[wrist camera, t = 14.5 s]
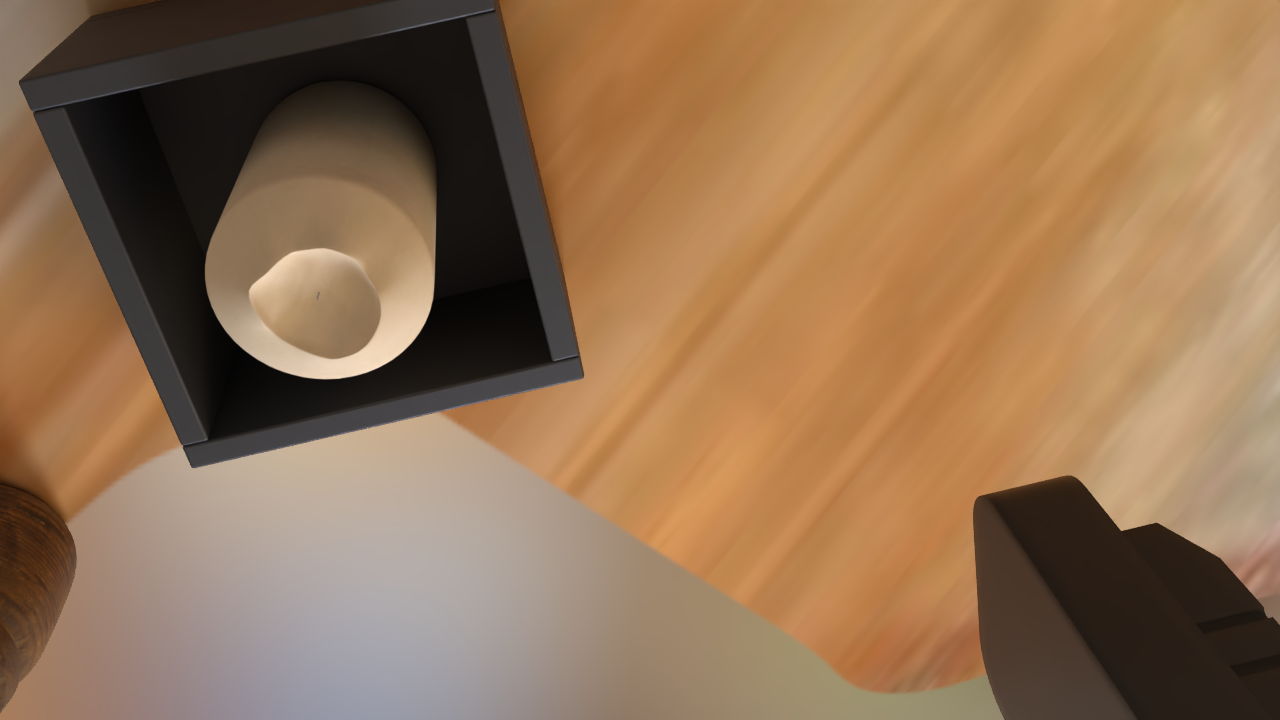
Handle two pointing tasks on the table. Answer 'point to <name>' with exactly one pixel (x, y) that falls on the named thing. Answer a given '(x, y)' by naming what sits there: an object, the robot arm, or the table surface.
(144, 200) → the bin
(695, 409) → the table surface
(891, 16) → the table surface
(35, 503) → the utensil holder
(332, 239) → the candle
